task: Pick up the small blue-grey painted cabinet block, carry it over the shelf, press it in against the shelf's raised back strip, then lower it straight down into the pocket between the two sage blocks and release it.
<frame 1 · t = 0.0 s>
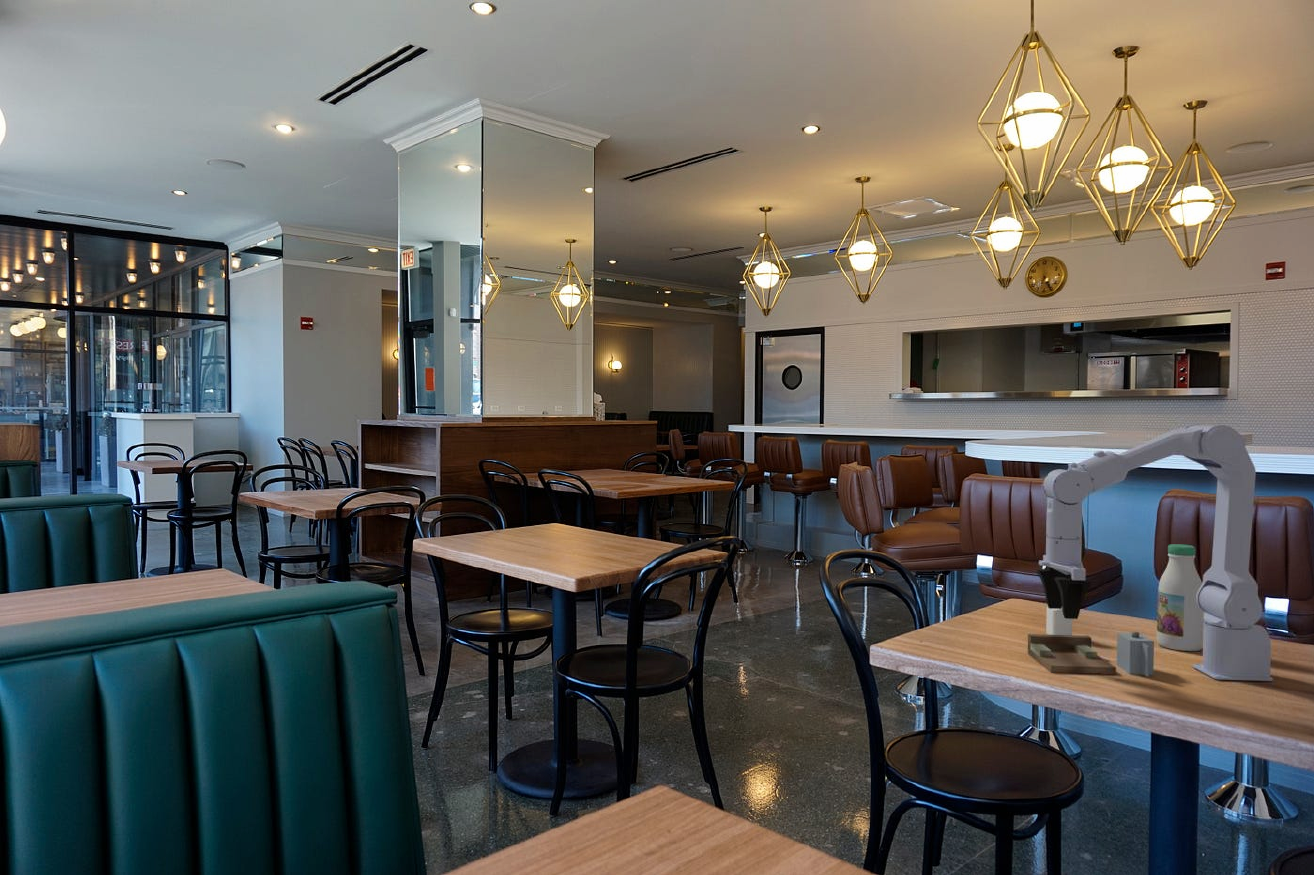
hand: (1062, 613, 153), 10 cm above the table, tool pointing down, fingers open, 7 cm apart
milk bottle: (1179, 647, 168), on the table
cabinet: (1134, 670, 153), on the table
pepper shaker: (1059, 638, 175), on the table
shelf: (1069, 663, 157), on the table
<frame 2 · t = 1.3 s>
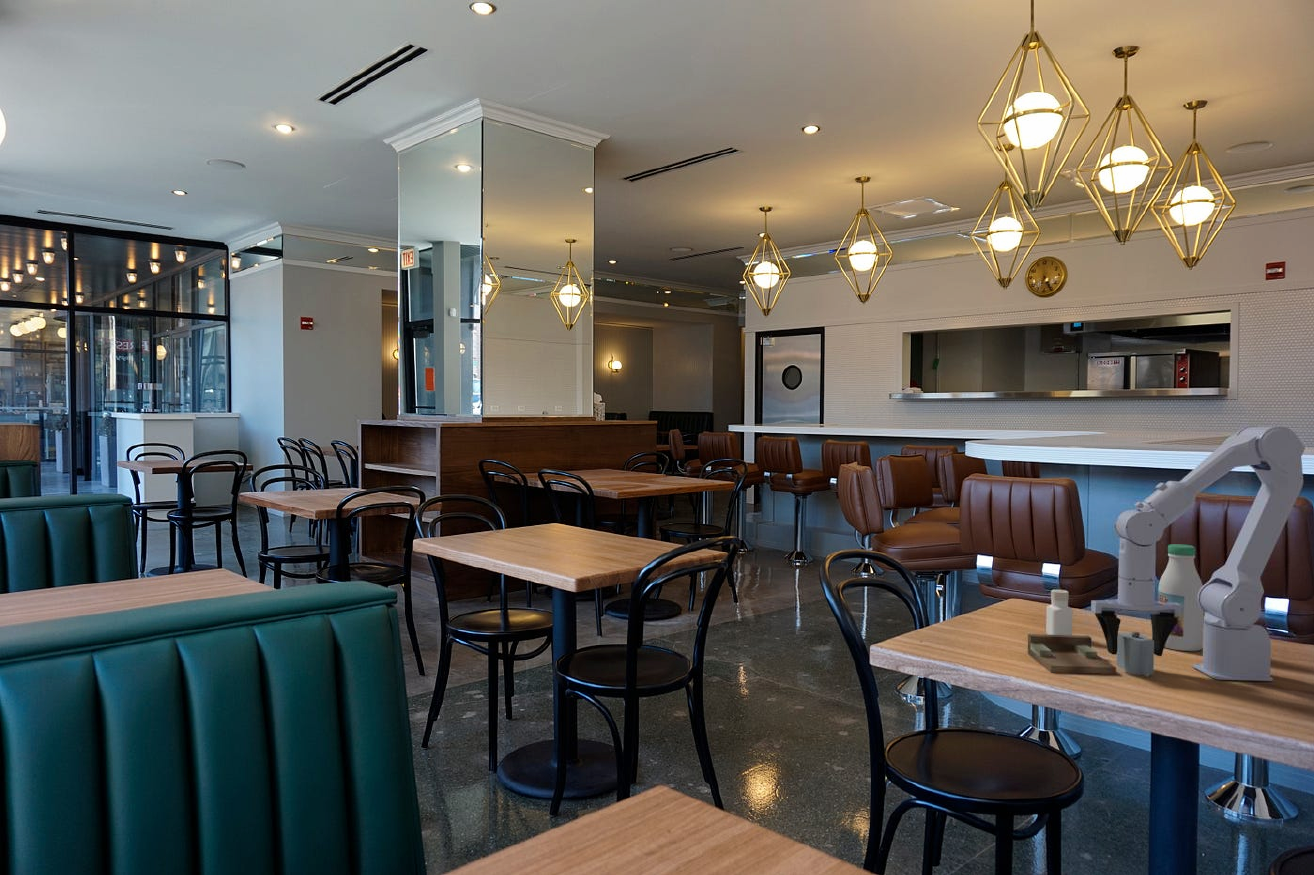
hand: (1134, 653, 153), 3 cm above the table, tool pointing down, fingers open, 7 cm apart
nothing on the table moved.
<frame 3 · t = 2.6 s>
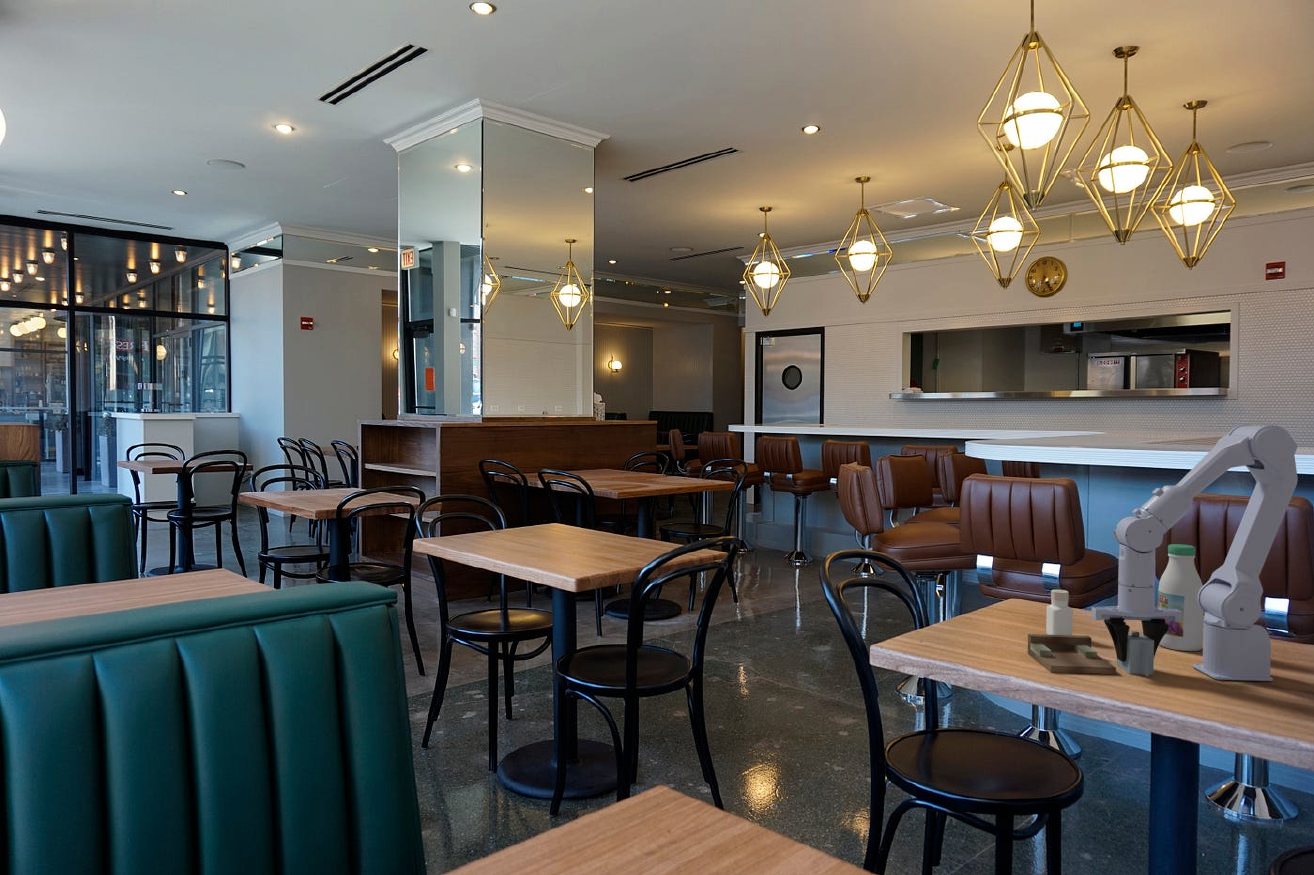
hand: (1134, 660, 153), 2 cm above the table, tool pointing down, fingers closed on cabinet, 4 cm apart
cabinet: (1134, 670, 153), on the table, touching gripper
everything else where it was.
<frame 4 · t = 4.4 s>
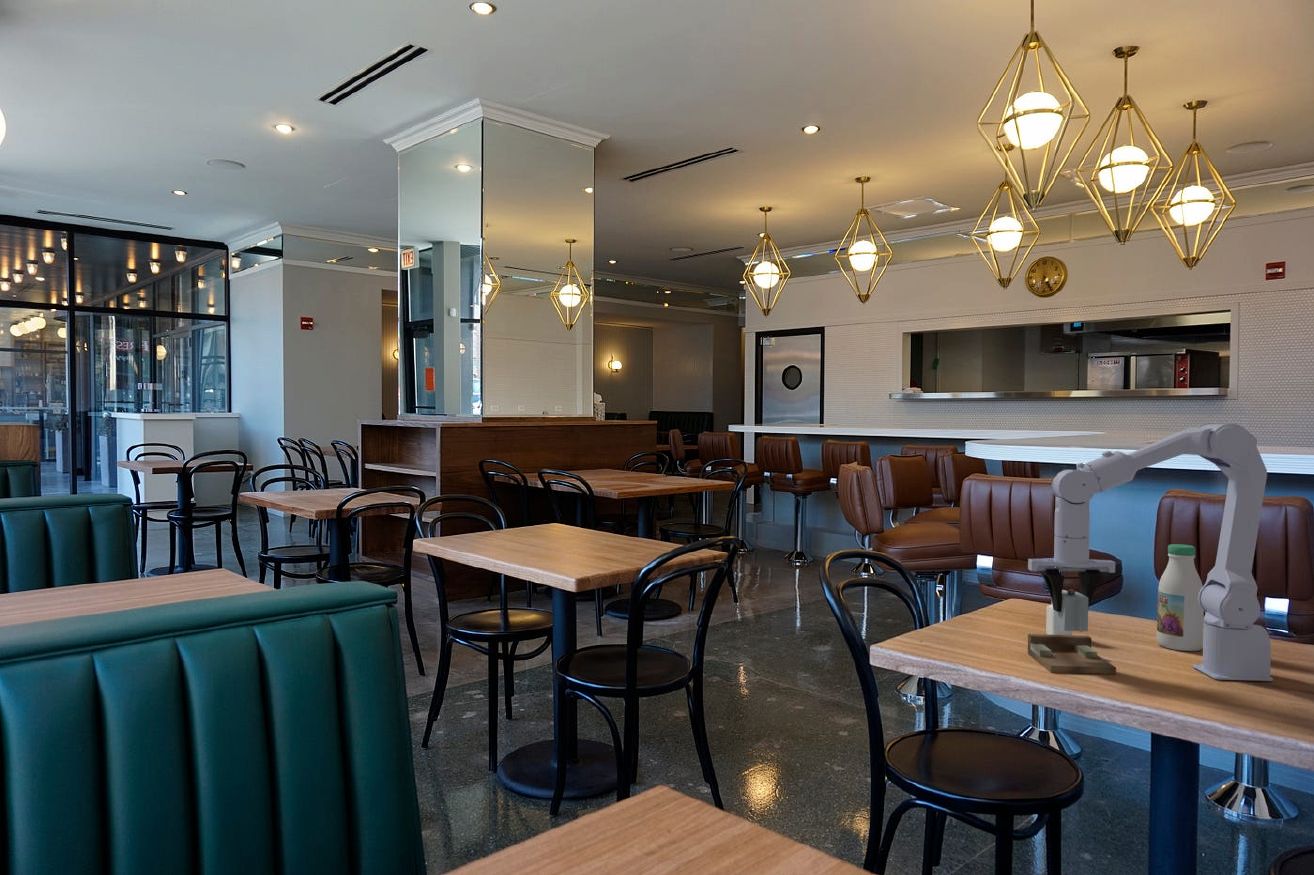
hand: (1070, 611, 156), 10 cm above the table, tool pointing down, fingers closed on cabinet, 4 cm apart
cabinet: (1070, 627, 155), point 7 cm above the table, touching gripper
everything else where it was.
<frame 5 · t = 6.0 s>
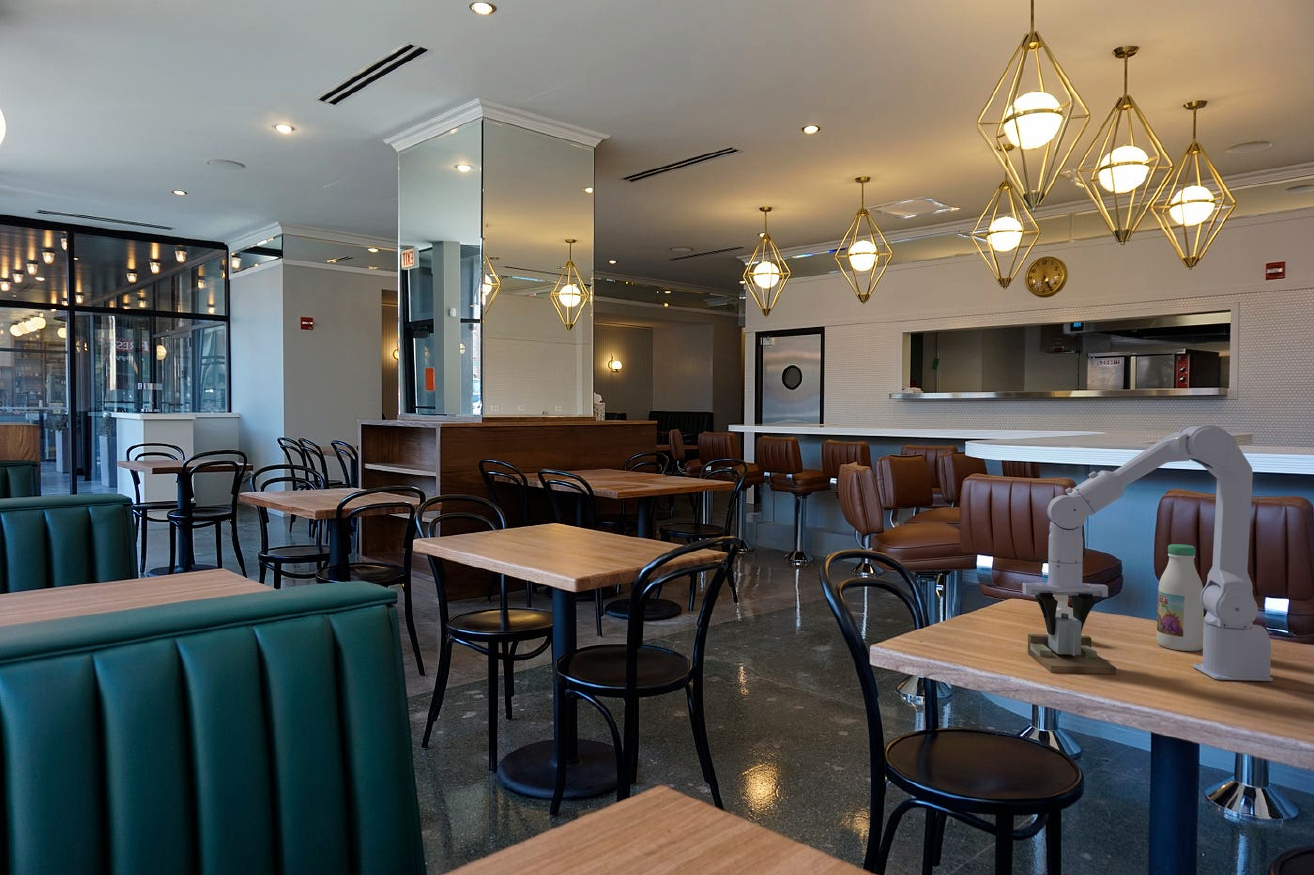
hand: (1063, 634, 158), 5 cm above the table, tool pointing down, fingers closed on cabinet, 4 cm apart
cabinet: (1064, 650, 158), point 2 cm above the table, touching gripper
everything else where it was.
when the fingers open (4 cm above the table, at t = 6.7 s): cabinet stays where it is, resting on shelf.
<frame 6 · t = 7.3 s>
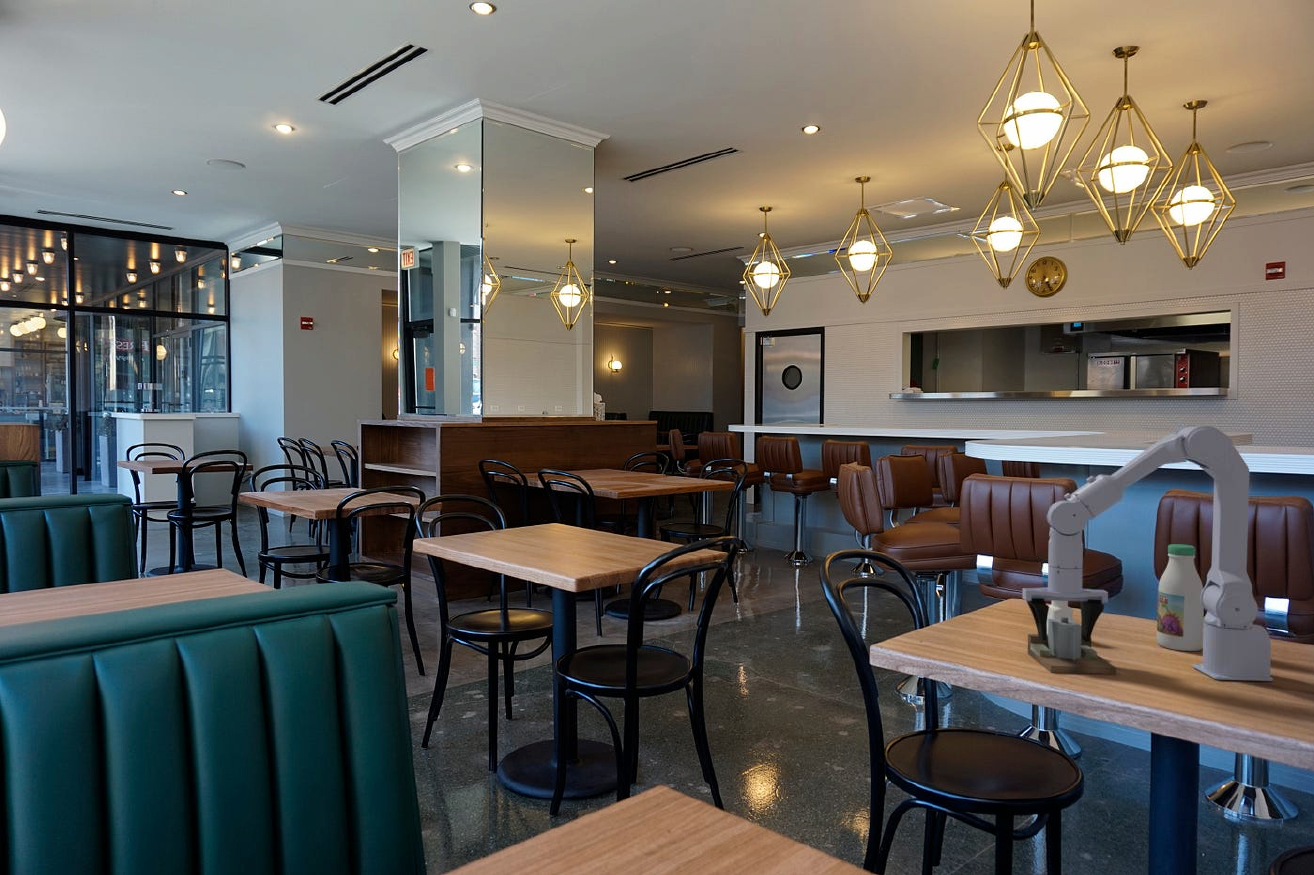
hand: (1063, 639, 158), 4 cm above the table, tool pointing down, fingers open, 7 cm apart
cabinet: (1064, 654, 158), point 1 cm above the table, touching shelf
everything else where it was.
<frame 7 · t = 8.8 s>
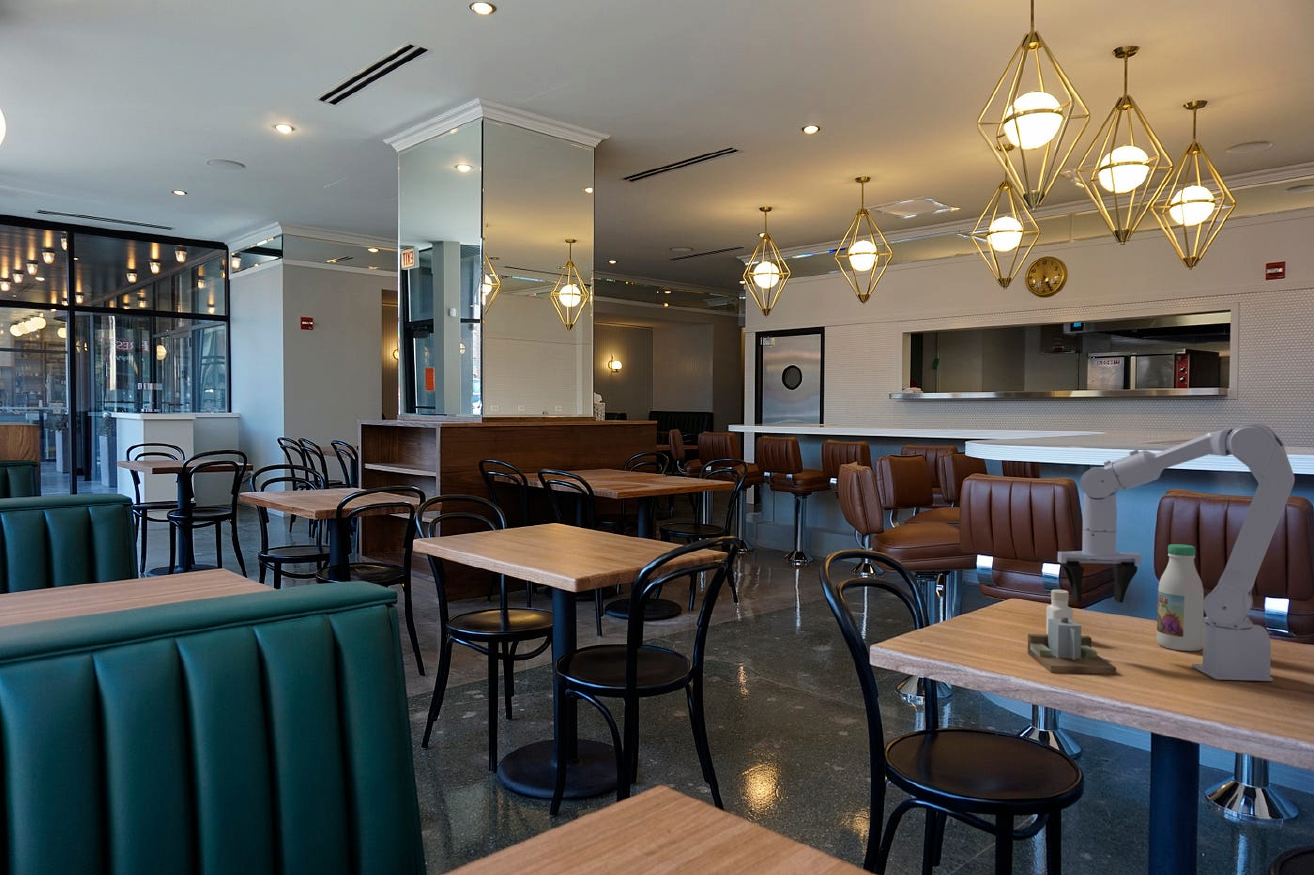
hand: (1098, 601, 164), 10 cm above the table, tool pointing down, fingers open, 7 cm apart
nothing on the table moved.
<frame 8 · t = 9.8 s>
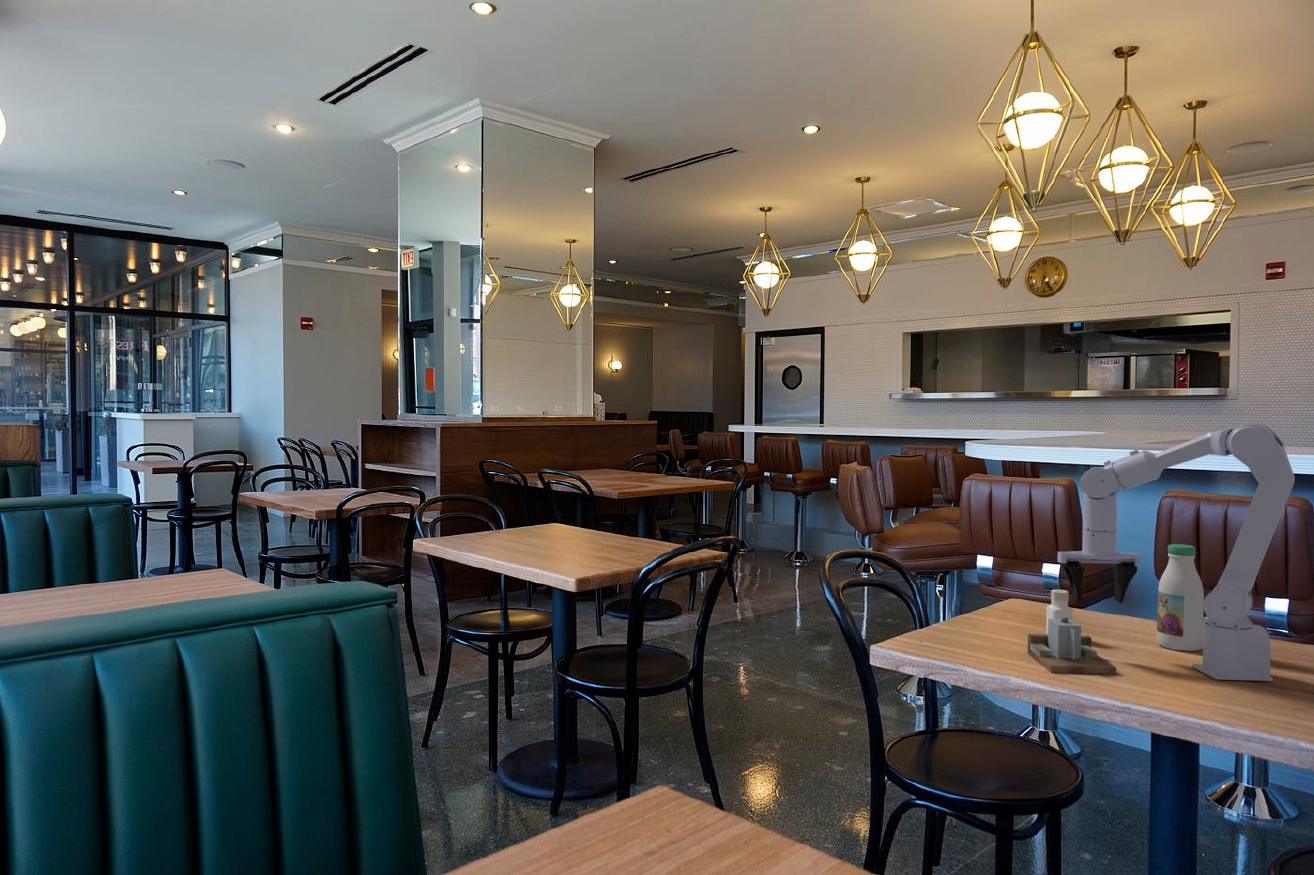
hand: (1098, 601, 164), 10 cm above the table, tool pointing down, fingers open, 7 cm apart
nothing on the table moved.
at the end: cabinet 0.1 cm from the target spot on the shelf, point 1.2 cm above the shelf's base; cabinet tilted 0°; the gripper is holding nothing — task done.
